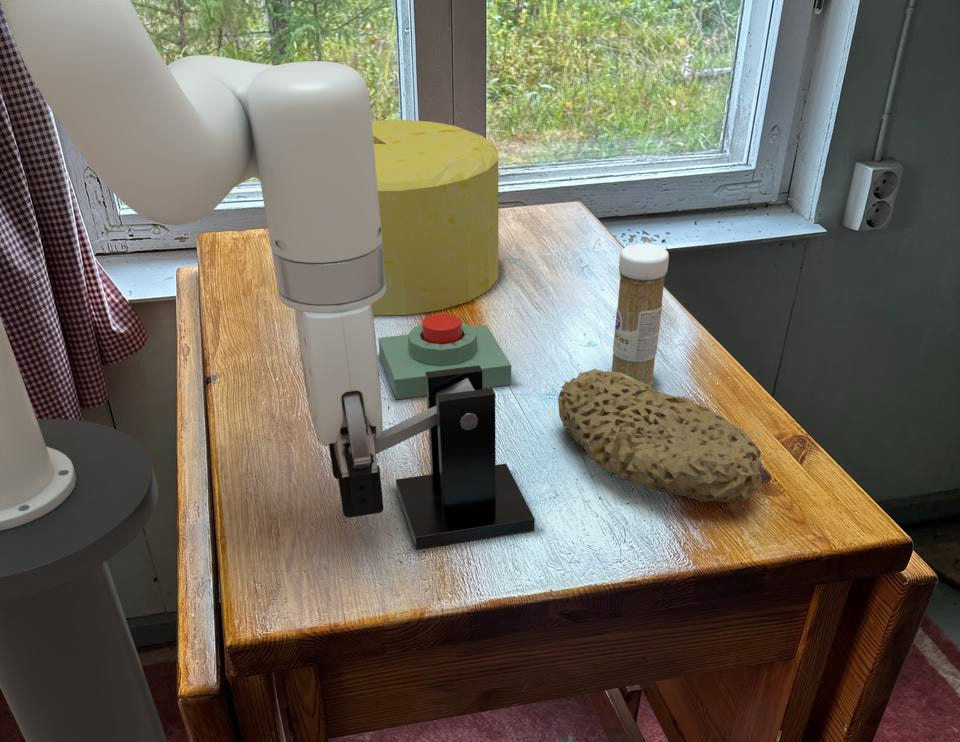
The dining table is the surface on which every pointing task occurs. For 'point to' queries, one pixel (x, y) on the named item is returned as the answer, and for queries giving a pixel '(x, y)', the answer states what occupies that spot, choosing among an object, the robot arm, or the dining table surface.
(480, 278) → the cheese
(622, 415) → the sponge
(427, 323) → the button
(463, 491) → the bracket
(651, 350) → the sprinkles bottle
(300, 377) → the dining table surface
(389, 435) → the lever
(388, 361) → the button box
